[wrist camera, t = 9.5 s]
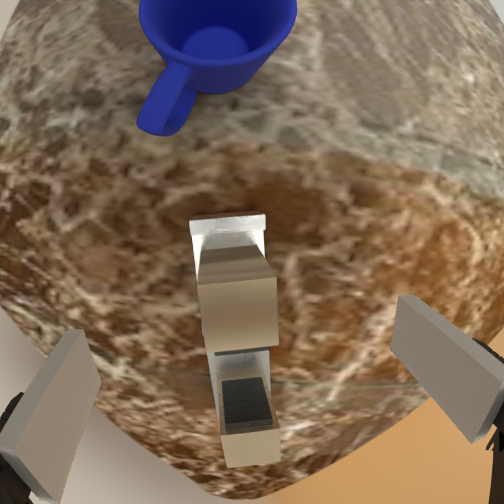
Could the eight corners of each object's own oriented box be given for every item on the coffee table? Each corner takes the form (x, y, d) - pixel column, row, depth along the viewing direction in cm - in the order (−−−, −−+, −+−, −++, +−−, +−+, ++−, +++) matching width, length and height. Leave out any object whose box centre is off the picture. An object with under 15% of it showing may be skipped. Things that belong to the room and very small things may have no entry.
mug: (123, 125, 22) (72, 102, 13) (194, 4, 20) (189, -66, 10) (216, 165, 24) (219, 163, 14) (282, 41, 22) (320, -18, 12)
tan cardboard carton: (200, 250, 22) (196, 285, 16) (257, 244, 23) (276, 277, 16) (207, 309, 24) (207, 361, 17) (260, 304, 24) (278, 353, 17)
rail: (192, 212, 25) (181, 240, 15) (256, 207, 25) (284, 231, 16) (217, 401, 30) (223, 478, 20) (266, 395, 30) (286, 470, 20)
